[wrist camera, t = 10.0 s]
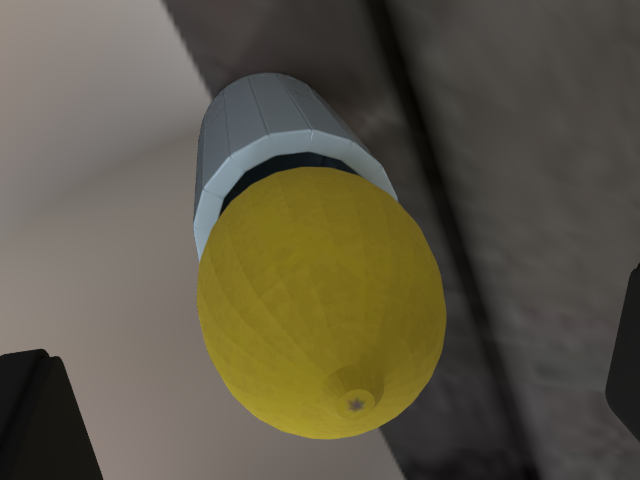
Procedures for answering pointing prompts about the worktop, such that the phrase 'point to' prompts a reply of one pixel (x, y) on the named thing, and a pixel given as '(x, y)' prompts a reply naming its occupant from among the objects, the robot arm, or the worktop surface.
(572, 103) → the worktop surface
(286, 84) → the cup
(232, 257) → the lemon
